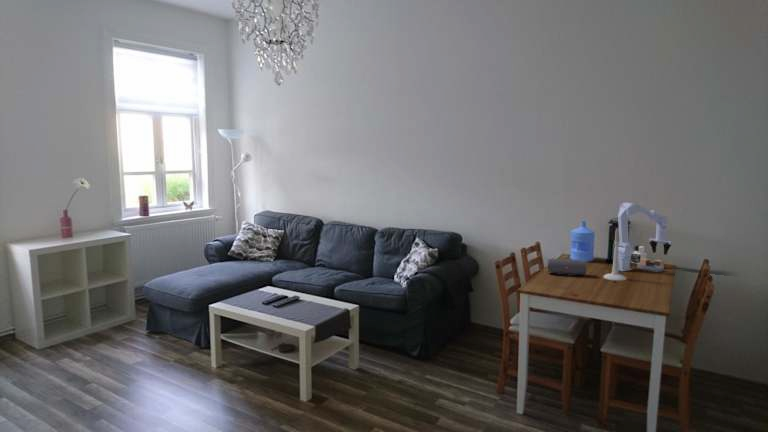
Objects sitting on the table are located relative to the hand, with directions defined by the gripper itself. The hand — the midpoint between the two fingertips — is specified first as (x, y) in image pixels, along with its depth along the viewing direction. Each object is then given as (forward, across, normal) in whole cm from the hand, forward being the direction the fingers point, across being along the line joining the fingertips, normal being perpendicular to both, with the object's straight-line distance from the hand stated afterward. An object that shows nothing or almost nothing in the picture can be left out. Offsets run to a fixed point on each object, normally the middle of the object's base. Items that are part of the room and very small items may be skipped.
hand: (659, 253), depth 327 cm
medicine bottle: (+10, +16, -2) cm, 19 cm away
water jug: (+10, +43, +23) cm, 50 cm away
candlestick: (+10, -3, +49) cm, 50 cm away
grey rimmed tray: (+10, 0, +10) cm, 14 cm away
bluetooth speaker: (+10, +18, +67) cm, 70 cm away
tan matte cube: (+10, 0, 0) cm, 10 cm away
